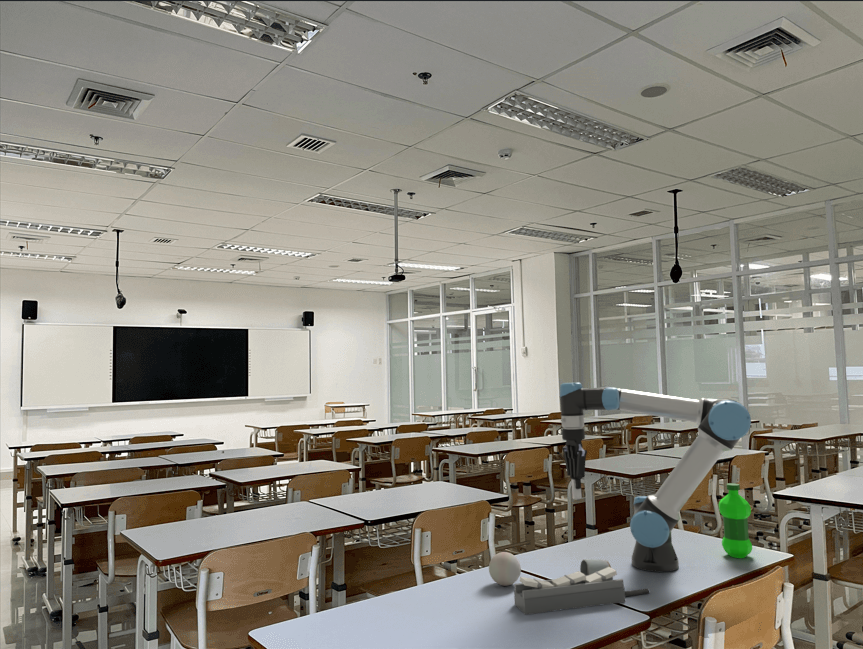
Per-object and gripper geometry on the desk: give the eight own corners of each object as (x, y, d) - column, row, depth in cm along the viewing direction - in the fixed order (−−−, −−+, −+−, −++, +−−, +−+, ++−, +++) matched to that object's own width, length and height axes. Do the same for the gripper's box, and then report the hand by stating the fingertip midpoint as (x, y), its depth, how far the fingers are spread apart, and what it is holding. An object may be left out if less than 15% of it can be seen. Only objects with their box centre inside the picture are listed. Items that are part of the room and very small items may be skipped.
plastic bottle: (724, 550, 230) (720, 481, 232) (756, 554, 224) (751, 483, 226) (718, 557, 222) (714, 485, 224) (751, 561, 216) (746, 487, 218)
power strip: (640, 589, 193) (639, 568, 193) (655, 597, 185) (654, 576, 185) (514, 604, 183) (513, 583, 183) (525, 614, 175) (524, 592, 175)
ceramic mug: (614, 586, 195) (613, 561, 196) (589, 588, 194) (588, 563, 195) (599, 576, 206) (598, 552, 207) (576, 578, 204) (574, 554, 205)
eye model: (491, 579, 206) (490, 547, 207) (522, 580, 204) (521, 548, 205) (487, 589, 196) (486, 556, 197) (520, 590, 194) (519, 557, 195)
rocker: (610, 570, 189) (608, 566, 189) (617, 575, 184) (616, 570, 184) (583, 581, 186) (582, 577, 186) (591, 586, 182) (589, 581, 182)
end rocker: (547, 586, 184) (548, 581, 184) (553, 591, 179) (554, 586, 180) (519, 581, 182) (520, 576, 182) (525, 585, 177) (526, 580, 178)
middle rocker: (579, 575, 186) (578, 570, 186) (586, 579, 182) (585, 574, 182) (552, 584, 184) (551, 579, 184) (558, 589, 180) (557, 584, 180)
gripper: (554, 427, 220) (558, 496, 218) (572, 430, 208) (576, 502, 206) (573, 426, 223) (577, 494, 221) (592, 428, 210) (597, 500, 208)
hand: (577, 498), depth 213 cm, fingers closed
